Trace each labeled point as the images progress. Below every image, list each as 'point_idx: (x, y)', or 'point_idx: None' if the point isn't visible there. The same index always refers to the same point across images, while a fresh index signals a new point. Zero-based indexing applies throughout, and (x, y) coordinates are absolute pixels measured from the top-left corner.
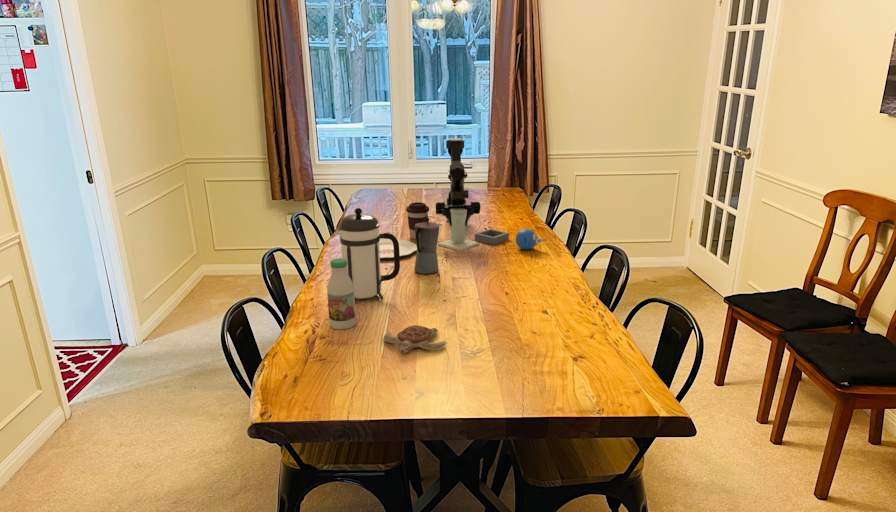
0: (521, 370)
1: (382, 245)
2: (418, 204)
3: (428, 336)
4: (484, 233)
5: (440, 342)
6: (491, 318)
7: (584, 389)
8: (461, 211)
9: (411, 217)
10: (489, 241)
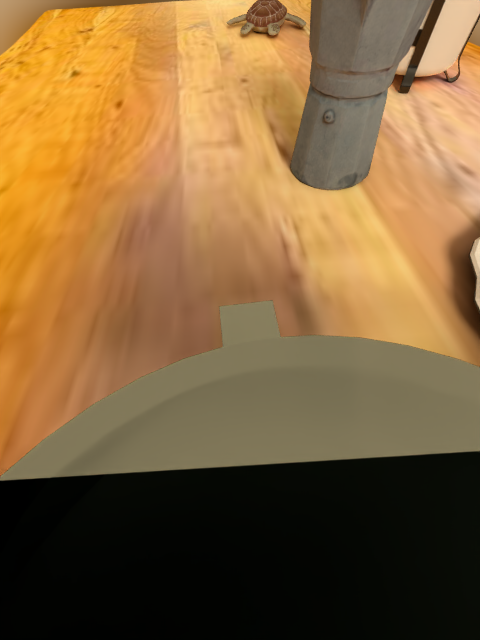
0: (151, 19)
1: None
2: None
3: (248, 11)
4: None
5: (233, 18)
6: (165, 59)
7: (103, 14)
8: (143, 428)
9: None
10: None
